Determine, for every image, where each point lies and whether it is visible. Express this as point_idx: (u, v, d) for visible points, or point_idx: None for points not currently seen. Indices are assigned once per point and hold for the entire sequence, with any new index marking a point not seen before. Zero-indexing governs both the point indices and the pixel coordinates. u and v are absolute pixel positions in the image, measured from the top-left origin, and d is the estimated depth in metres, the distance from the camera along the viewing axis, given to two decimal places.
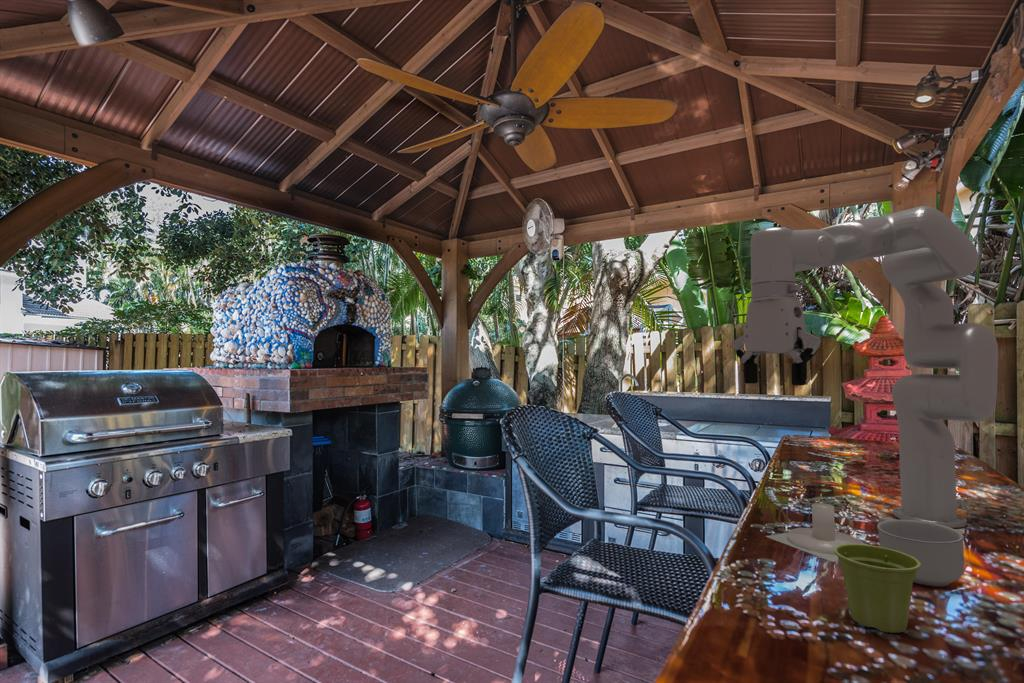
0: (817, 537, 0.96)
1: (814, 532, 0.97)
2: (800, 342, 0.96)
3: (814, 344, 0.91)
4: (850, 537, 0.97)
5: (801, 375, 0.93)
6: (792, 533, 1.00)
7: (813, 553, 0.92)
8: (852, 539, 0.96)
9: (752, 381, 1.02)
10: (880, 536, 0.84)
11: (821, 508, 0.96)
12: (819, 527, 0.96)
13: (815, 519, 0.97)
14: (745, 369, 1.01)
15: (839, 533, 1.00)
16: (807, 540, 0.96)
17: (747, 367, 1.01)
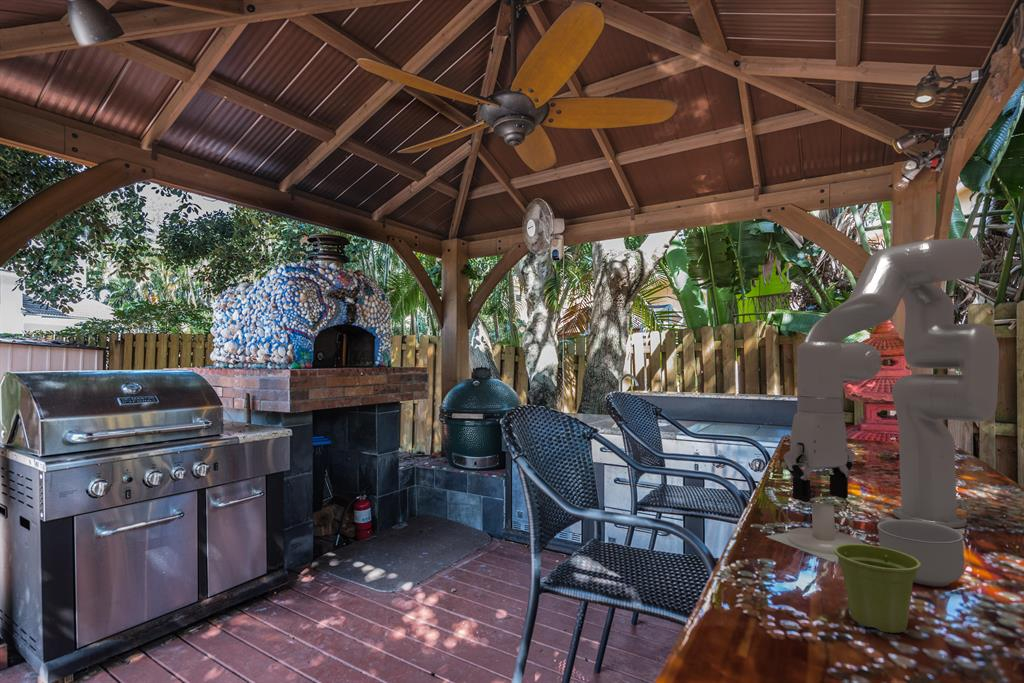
0: (817, 537, 0.96)
1: (814, 532, 0.97)
2: None
3: (852, 458, 1.00)
4: (850, 537, 0.97)
5: None
6: (792, 533, 1.00)
7: (813, 553, 0.92)
8: (852, 539, 0.96)
9: None
10: (880, 536, 0.84)
11: (820, 508, 0.96)
12: (819, 527, 0.96)
13: (815, 519, 0.97)
14: (808, 487, 0.94)
15: (839, 533, 1.00)
16: (807, 540, 0.96)
17: (809, 484, 0.94)
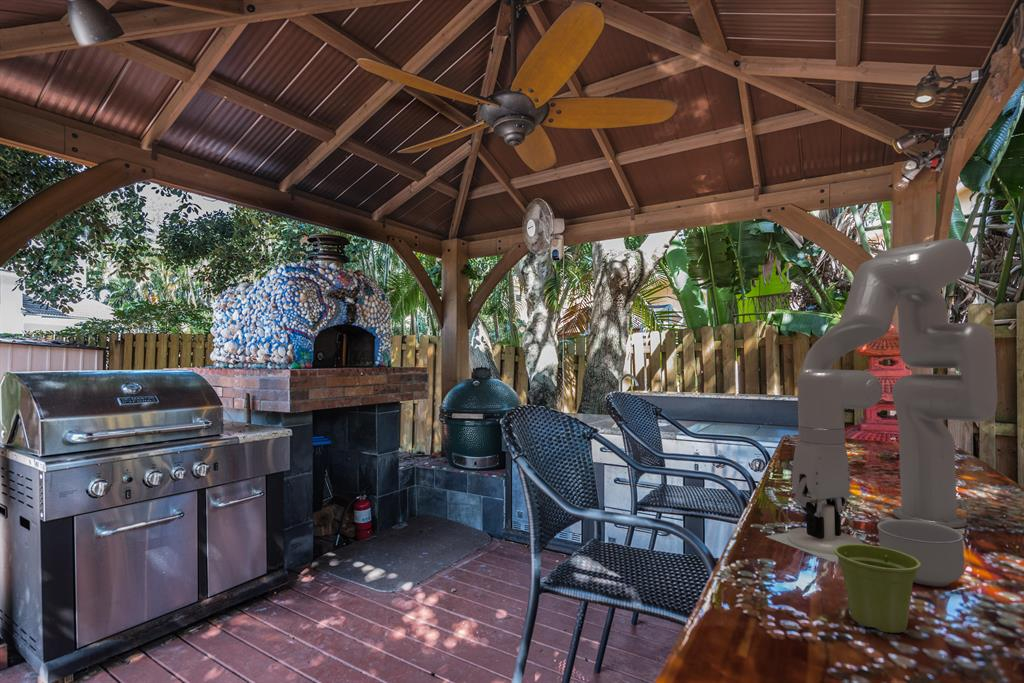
0: None
1: None
2: None
3: (847, 497, 0.99)
4: (850, 537, 0.97)
5: None
6: (792, 533, 1.00)
7: (813, 553, 0.92)
8: (852, 539, 0.96)
9: None
10: (880, 536, 0.84)
11: None
12: None
13: None
14: (822, 524, 0.95)
15: None
16: (807, 540, 0.96)
17: (823, 521, 0.95)
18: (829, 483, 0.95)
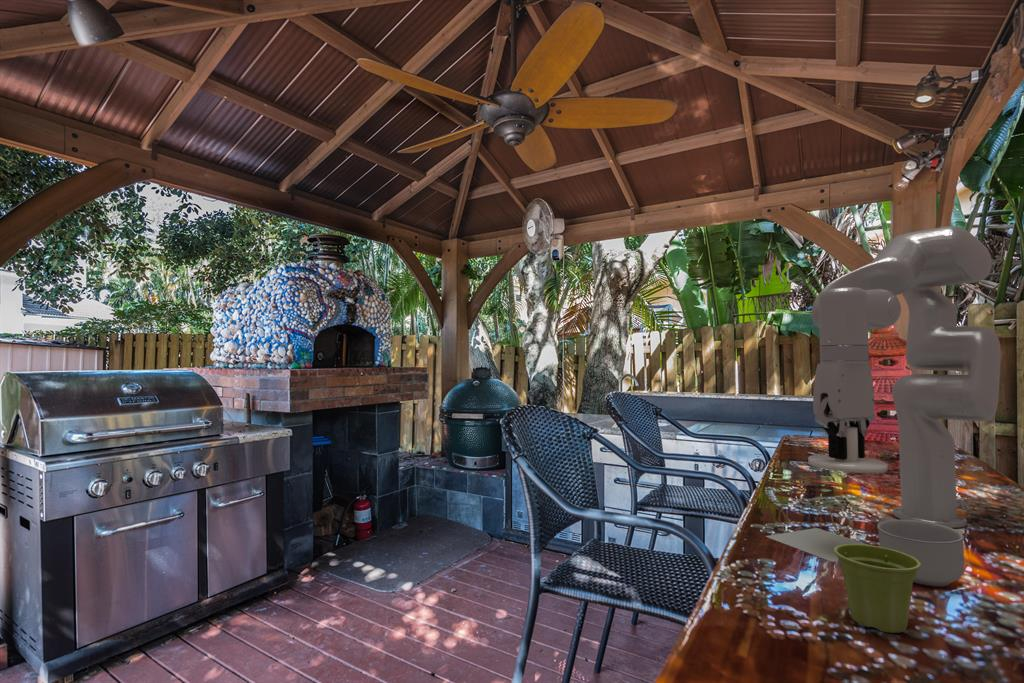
0: (839, 459, 0.93)
1: None
2: None
3: (871, 420, 0.95)
4: (874, 460, 0.94)
5: None
6: (813, 457, 0.96)
7: (813, 553, 0.92)
8: (876, 461, 0.93)
9: None
10: (880, 536, 0.84)
11: None
12: None
13: None
14: (845, 444, 0.92)
15: (863, 458, 0.96)
16: (829, 461, 0.92)
17: (846, 442, 0.92)
18: (852, 402, 0.91)
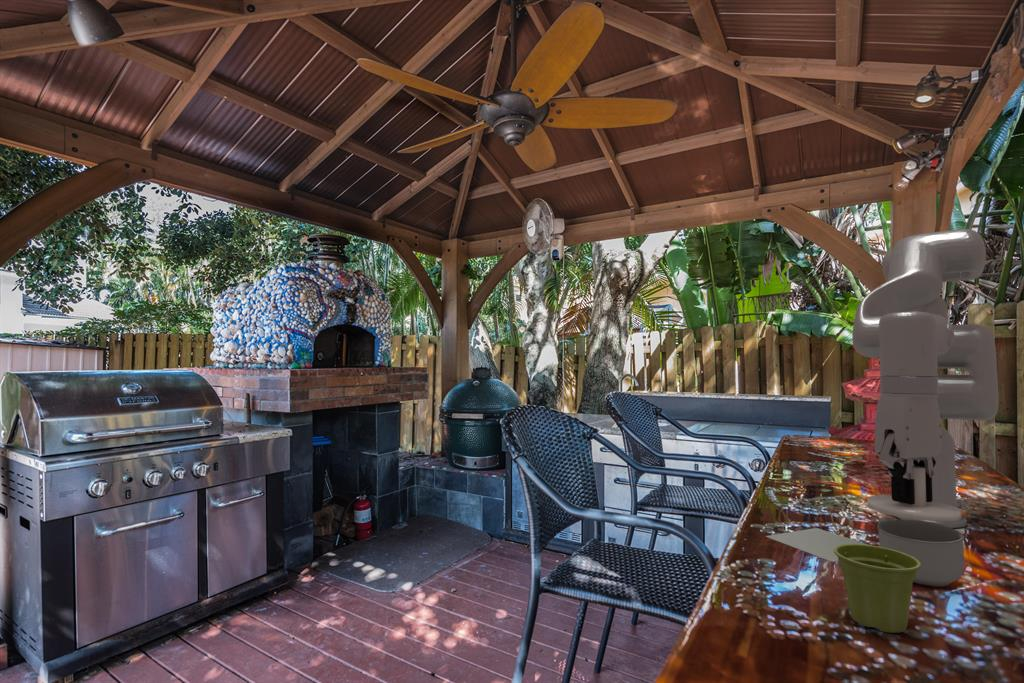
0: None
1: None
2: None
3: (937, 459, 0.86)
4: (942, 504, 0.84)
5: None
6: (873, 500, 0.86)
7: (813, 553, 0.92)
8: (946, 505, 0.83)
9: None
10: (880, 536, 0.84)
11: None
12: None
13: None
14: (913, 487, 0.82)
15: None
16: (894, 506, 0.82)
17: None
18: (921, 440, 0.82)
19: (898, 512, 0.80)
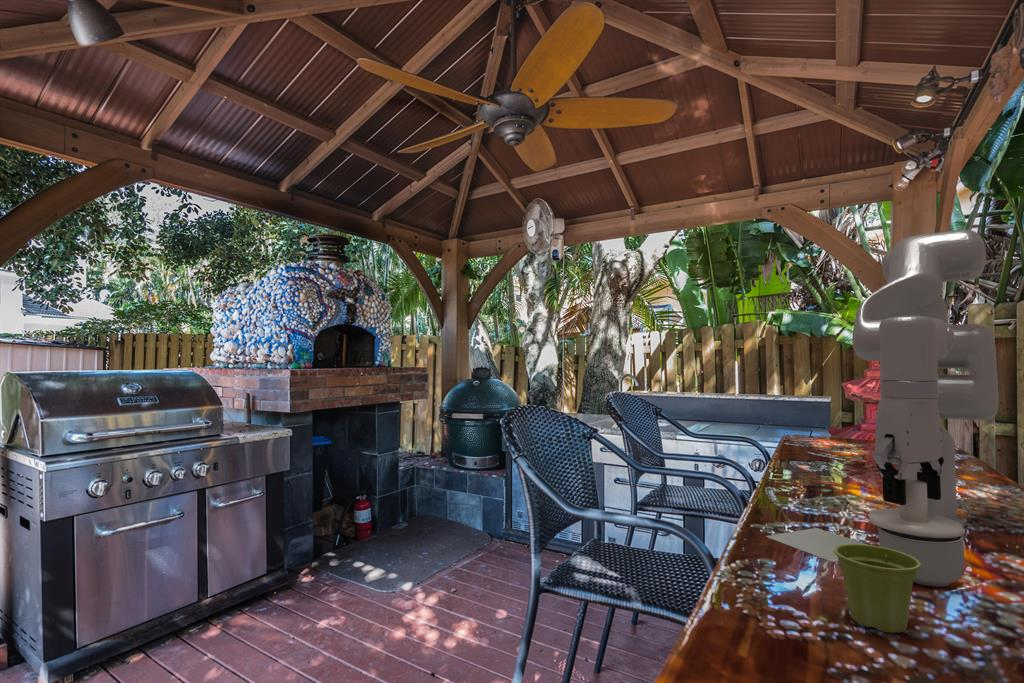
0: (907, 518, 0.83)
1: (903, 513, 0.84)
2: None
3: (944, 453, 0.87)
4: (944, 518, 0.84)
5: None
6: (875, 514, 0.86)
7: (813, 553, 0.92)
8: (948, 521, 0.83)
9: None
10: (880, 536, 0.84)
11: (911, 485, 0.83)
12: (909, 507, 0.83)
13: None
14: (904, 488, 0.81)
15: (929, 514, 0.86)
16: (895, 521, 0.82)
17: None
18: (921, 444, 0.82)
19: (899, 528, 0.80)
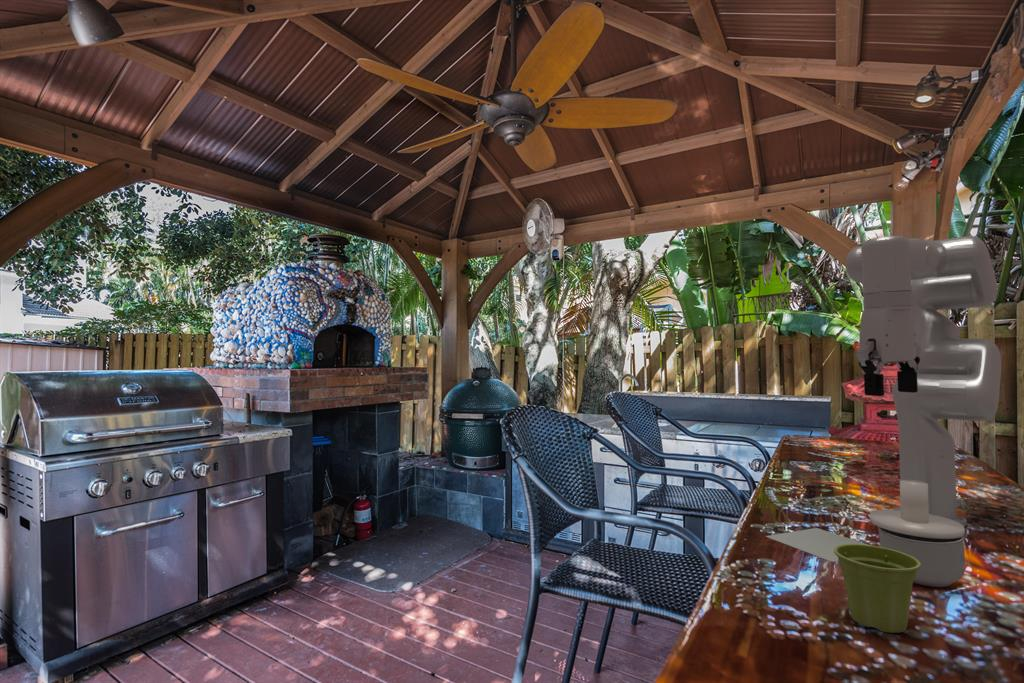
0: (908, 519, 0.83)
1: (903, 513, 0.83)
2: None
3: (919, 353, 1.00)
4: (945, 519, 0.84)
5: None
6: (875, 515, 0.86)
7: (813, 553, 0.92)
8: (949, 521, 0.83)
9: None
10: (881, 536, 0.84)
11: (912, 485, 0.82)
12: (910, 507, 0.83)
13: (905, 498, 0.83)
14: (882, 381, 0.94)
15: (930, 515, 0.86)
16: (897, 522, 0.82)
17: None
18: (898, 346, 0.95)
19: (900, 529, 0.80)
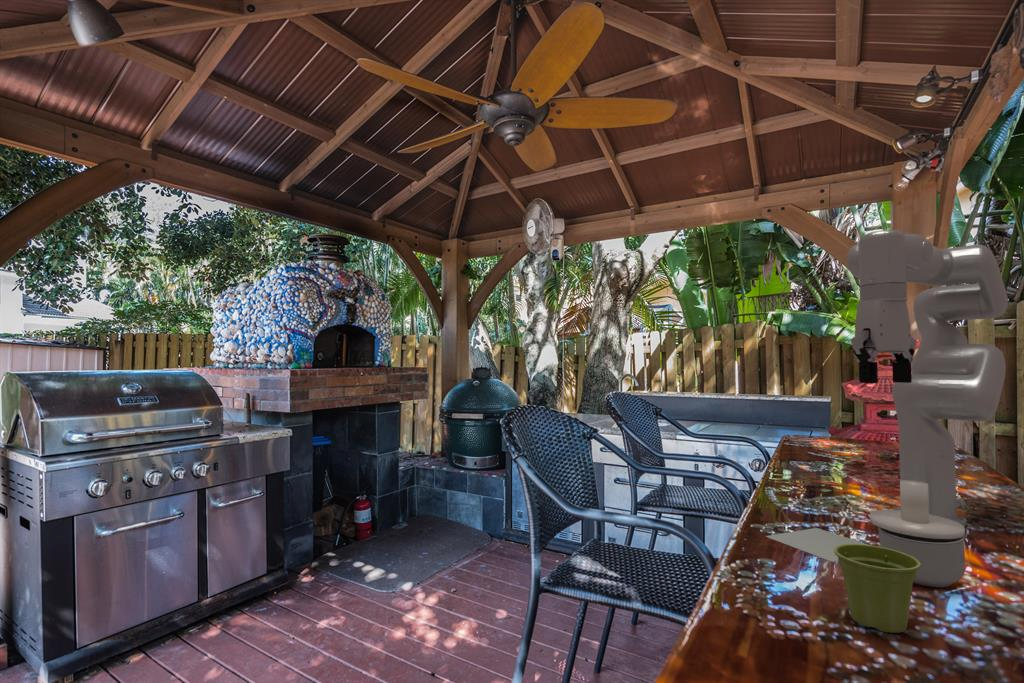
0: (908, 519, 0.83)
1: (904, 513, 0.83)
2: None
3: (914, 345, 1.03)
4: (945, 519, 0.84)
5: None
6: (876, 515, 0.86)
7: (813, 553, 0.92)
8: (949, 521, 0.83)
9: None
10: (881, 537, 0.84)
11: (913, 486, 0.82)
12: (910, 508, 0.82)
13: (905, 498, 0.83)
14: (876, 368, 0.98)
15: (930, 515, 0.86)
16: (897, 522, 0.82)
17: None
18: (892, 335, 0.98)
19: (901, 529, 0.80)
